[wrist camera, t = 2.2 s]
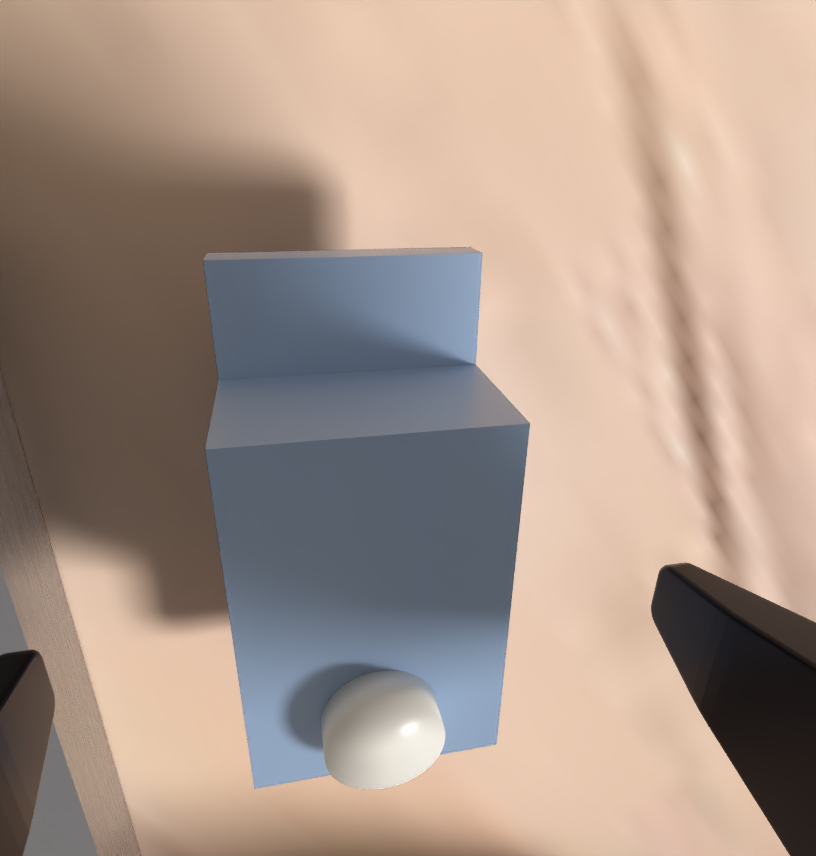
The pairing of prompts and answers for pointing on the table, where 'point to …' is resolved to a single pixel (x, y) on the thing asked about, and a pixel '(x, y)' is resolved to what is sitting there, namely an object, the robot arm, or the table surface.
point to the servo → (361, 508)
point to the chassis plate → (55, 677)
